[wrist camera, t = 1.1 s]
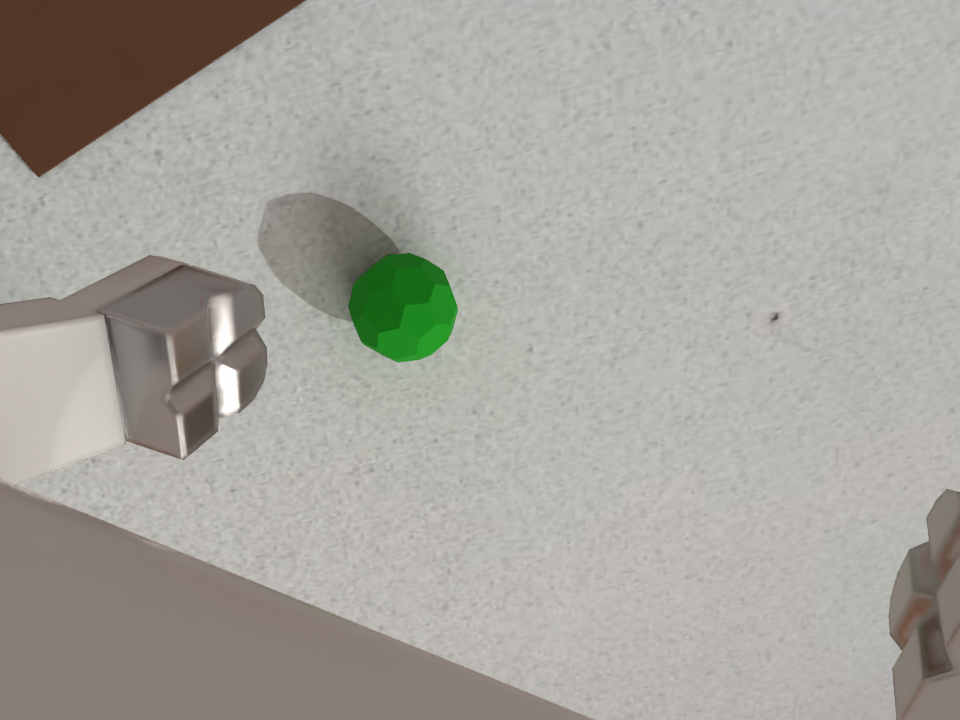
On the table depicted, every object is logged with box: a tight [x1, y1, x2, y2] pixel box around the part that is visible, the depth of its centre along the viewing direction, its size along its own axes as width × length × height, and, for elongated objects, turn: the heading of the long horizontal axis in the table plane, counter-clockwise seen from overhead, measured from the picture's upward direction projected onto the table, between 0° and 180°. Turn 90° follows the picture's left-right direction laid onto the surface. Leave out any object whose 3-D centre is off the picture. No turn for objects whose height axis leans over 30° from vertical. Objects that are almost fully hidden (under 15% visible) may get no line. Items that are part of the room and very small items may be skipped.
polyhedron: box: [348, 253, 458, 362], centre depth 37 cm, size 5×5×5 cm
